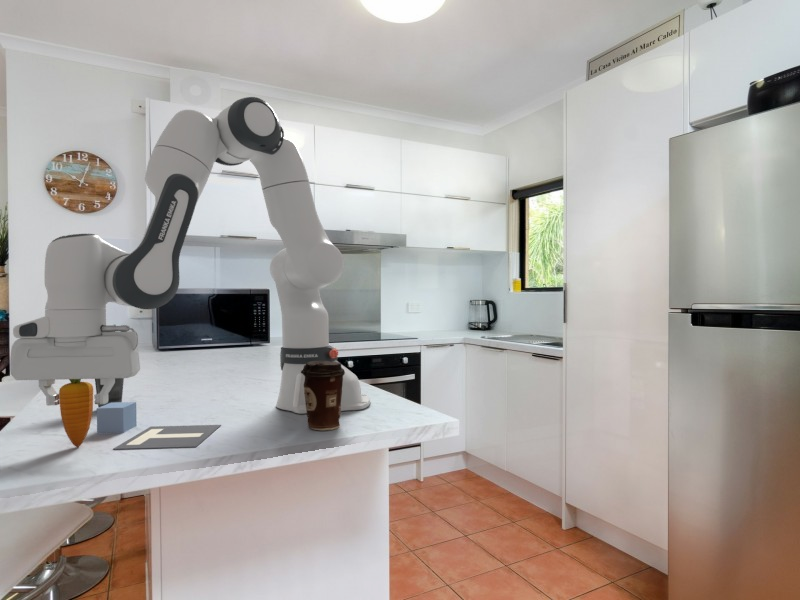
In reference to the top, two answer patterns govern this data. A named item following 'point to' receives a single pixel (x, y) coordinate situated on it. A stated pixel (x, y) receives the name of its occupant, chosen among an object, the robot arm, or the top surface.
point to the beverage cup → (114, 393)
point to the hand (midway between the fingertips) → (77, 404)
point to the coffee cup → (323, 394)
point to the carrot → (76, 409)
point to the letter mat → (169, 437)
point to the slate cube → (116, 417)
